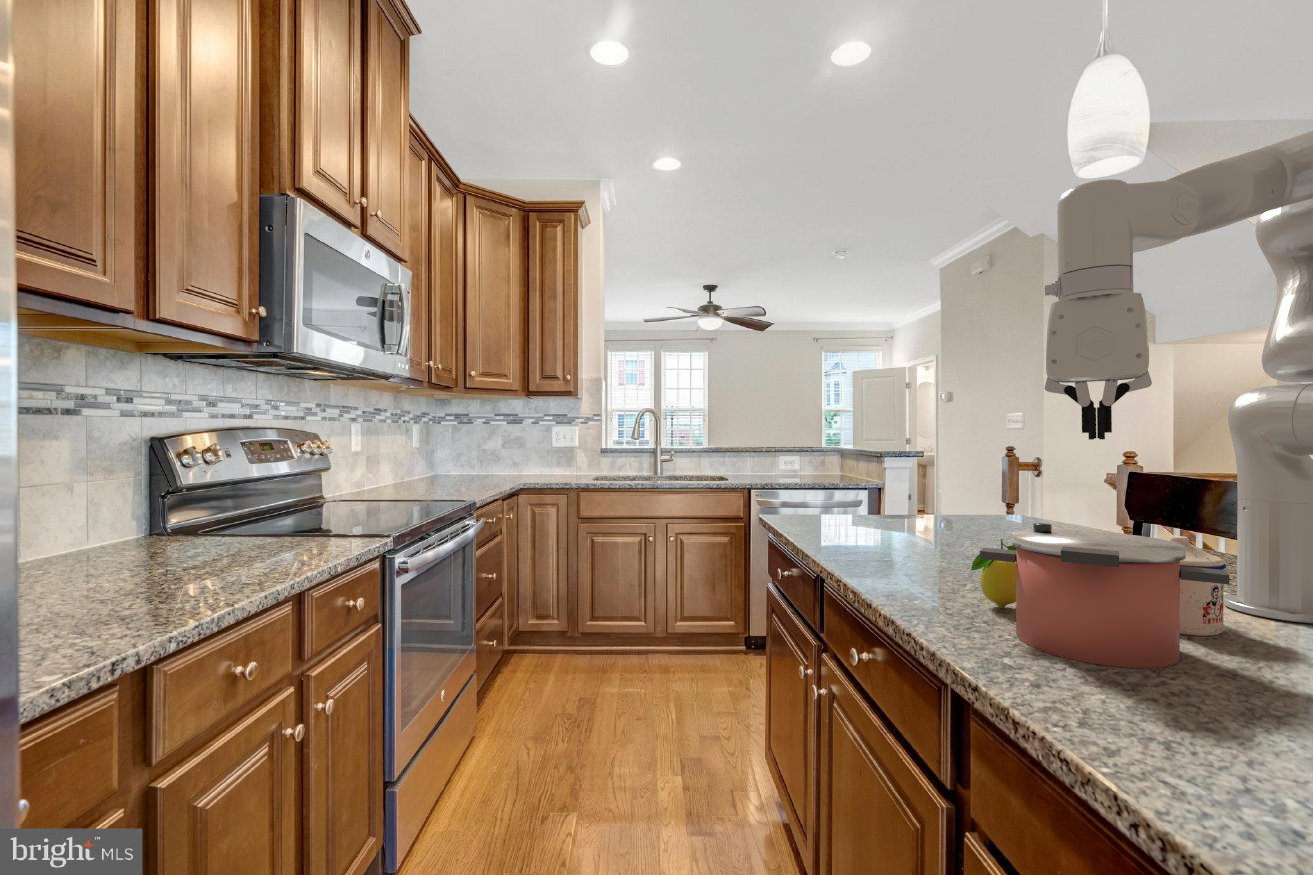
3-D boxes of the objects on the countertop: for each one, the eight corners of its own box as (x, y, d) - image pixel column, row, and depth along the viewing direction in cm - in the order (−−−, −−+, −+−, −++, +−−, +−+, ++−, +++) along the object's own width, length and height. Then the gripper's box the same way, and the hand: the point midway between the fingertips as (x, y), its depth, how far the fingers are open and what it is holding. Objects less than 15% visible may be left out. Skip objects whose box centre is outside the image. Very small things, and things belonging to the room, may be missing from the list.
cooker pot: (992, 609, 90) (992, 532, 90) (1217, 642, 76) (1217, 550, 76) (970, 641, 77) (970, 550, 76) (1238, 688, 62) (1238, 576, 62)
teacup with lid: (1224, 642, 76) (1224, 545, 76) (1130, 626, 82) (1130, 537, 82) (1228, 620, 85) (1228, 533, 85) (1143, 607, 91) (1143, 526, 91)
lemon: (1036, 609, 91) (1036, 539, 91) (1020, 616, 87) (1020, 544, 87) (987, 599, 96) (987, 533, 96) (969, 606, 92) (969, 537, 92)
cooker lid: (1020, 534, 88) (1020, 518, 88) (1179, 547, 78) (1179, 529, 78) (997, 555, 71) (997, 535, 71) (1196, 575, 61) (1196, 552, 61)
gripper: (1020, 292, 79) (1022, 440, 79) (1176, 272, 70) (1178, 439, 70) (1027, 301, 85) (1029, 438, 85) (1171, 284, 76) (1173, 437, 76)
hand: (1096, 438), depth 77 cm, fingers closed
